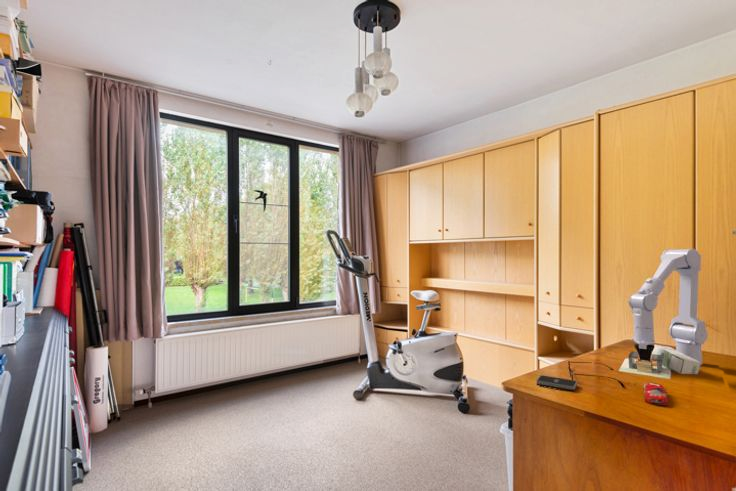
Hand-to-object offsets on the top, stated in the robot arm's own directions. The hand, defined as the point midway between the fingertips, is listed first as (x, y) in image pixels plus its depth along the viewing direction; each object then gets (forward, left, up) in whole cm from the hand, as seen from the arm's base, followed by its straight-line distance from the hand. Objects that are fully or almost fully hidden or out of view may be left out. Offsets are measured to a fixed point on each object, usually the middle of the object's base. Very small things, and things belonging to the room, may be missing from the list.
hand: (645, 365), depth 131 cm
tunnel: (0, 0, -1) cm, 1 cm away
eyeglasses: (+18, -13, -3) cm, 23 cm away
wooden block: (+4, 0, -1) cm, 4 cm away
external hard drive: (+34, -21, -3) cm, 40 cm away
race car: (+28, +4, -3) cm, 29 cm away
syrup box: (-1, +12, +1) cm, 12 cm away
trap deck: (-1, 0, -2) cm, 3 cm away
